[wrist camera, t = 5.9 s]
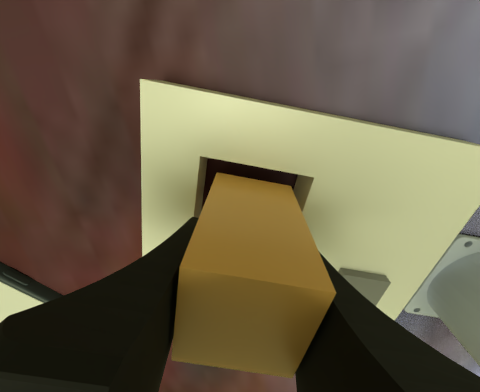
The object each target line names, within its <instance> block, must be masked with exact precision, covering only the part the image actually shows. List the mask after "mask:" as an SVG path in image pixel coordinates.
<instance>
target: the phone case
mask: <svg viewBox="0 0 480 392" xmlns="http://www.w3.org/2000/svg"><path fill="white" fill-rule="evenodd" d="M62 296H63V295H61V294H59V293H57V292H55V291H54V290H52V289H50V288H48V287H46V286H44V285H42V284H41V283H39V282H37V281H35V280H33V279H31V278H29V277H28V276H26V275H24V274H22V273H20V272H18V271H16V270H15V269H13V268H11V267H9V266H7V265H5V264H3V263H1V262H0V323H1V322H2V321H3V320H4V319H5V318H6V317H8V316H9V315H12V314H15V313H18V312H21V311H23V310H26V309H29V308H32V307H35V306H37V305H40V304H43V303H46V302H48V301H51V300H54V299H57V298H59V297H62Z"/></svg>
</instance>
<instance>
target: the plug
mask: <svg viewBox="0 0 480 392" xmlns="http://www.w3.org/2000/svg"><path fill="white" fill-rule="evenodd" d="M335 295H336V291H335V289H334V286H333V284H332V282H331V279H330V277H329V274H328V272H327V270H326V267H325V265H324V263H323V260H322V258H321V256H320V253H319V251H318V249H317V246H316V244H315V242H314V239H313V237H312V234H311V232H310V230H309V227H308V225H307V223H306V220H305V218H304V216H303V213H302V211H301V209H300V206H299V204H298V202H297V199H296V197H295V195H294V192H293V190H292V187H291V186H288V185H283V184H278V183H272V182H267V181H261V180H256V179H251V178H245V177H240V176H235V175H229V174H224V173H218V172H217V173H216V176H215V178H214V181H213V183H212V186H211V188H210V191H209V194H208V196H207V199H206V201H205V204H204V206H203V209H202V211H201V214H200V216H199V219H198V221H197V224H196V226H195V229H194V232H193V234H192V237H191V239H190V242H189V244H188V247H187V249H186V252H185V254H184V257H183V259H182V262H181V265H180V268H179V279H178V291H177V302H176V314H175V325H174V337H173V349H172V360H173V361H180V362H187V363H193V364H200V365H207V366H214V367H220V368H227V369H234V370H241V371H247V372H254V373H261V374H268V375H274V376H281V377H288V378H293V376H294V374H295V372H296V370H297V368H298V366H299V364H300V362H301V361H302V359H303V357H304V355H305V353H306V351H307V349H308V347H309V345H310V343H311V341H312V339H313V337H314V335H315V333H316V331H317V330H318V328H319V326H320V324H321V322H322V320H323V318H324V316H325V314H326V312H327V310H328V308H329V306H330V304H331V302H332V301H333V299H334V297H335Z"/></svg>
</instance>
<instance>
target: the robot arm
mask: <svg viewBox="0 0 480 392" xmlns="http://www.w3.org/2000/svg"><path fill="white" fill-rule="evenodd" d="M198 219H199V218H197V217H191V218H190V219H189V220H188V221H187V222H186V223H185V224H184V225H183V226H181V227H180V228H179V229H178V230H177V231H176V232H175V233H173V234H172V235H171V236H170V237H169V238H167V239H166V240H165V241H164V242H162V243H161V244H160V245H158V246H157V247H155V248H154V249H153V250H151V251H150V252H149V253H147V254H146V255H144V256H143V257H141V258H139V259H138V260H136V261H135V262H133V263H131V264H130V265H128V266H126V267H124V268H123V269H121V270H119V271H117V272H115V273H113V274H111V275H109V276H107V277H105V278H103V279H101V280H99V281H97V282H95V283H92V284H90V285H88V286H86V287H84V288H81V289H79V290H76V291H74V292H72V293H69V294H67V295H64V296H62V297H59V298H57V299H54V300H51V301H48V302H46V303H43V304H40V305H37V306H35V307H32V308H29V309H26V310H23V311H21V312H18V313H15V314H12V315H9V316H8V317H6V318H5V319H4V320H3V321H2V322H1V323H0V392H158V391H159V387H160V383H161V379H162V376H163V372H164V369H165V365H166V361H167V358H168V354H169V350H170V347H171V343H172V340H173V336H174V325H175V314H176V302H177V291H178V279H179V268H180V265H181V262H182V259H183V257H184V254H185V252H186V249H187V247H188V244H189V242H190V239H191V237H192V234H193V232H194V229H195V226H196V224H197V221H198ZM319 253H320V252H319ZM320 256H321V258H322V260H323V263H324V265H325V267H326V270H327V272H328V274H329V277H330V279H331V282H332V284H333V286H334V289H335V291H336V295H335V297H334V299H333V301H332V302H331V304H330V306H329V308H328V310H327V312H326V314H325V316H324V318H323V320H322V322H321V324H320V326H319V328H318V330H317V331H316V333H315V335H314V337H313V339H312V341H311V343H310V345H309V347H308V349H307V351H306V353H305V355H304V357H303V359H302V361H301V362H300V364H299V366H298V368H297V370H296V372H295V373H296V385H297V392H480V377H479V376H477V375H476V374H474V373H472V372H471V371H469V370H467V369H466V368H464V367H462V366H461V365H459V364H457V363H456V362H454V361H452V360H451V359H449V358H448V357H446V356H444V355H443V354H441V353H440V352H438V351H437V350H435V349H434V348H432V347H431V346H429V345H428V344H426V343H425V342H423V341H422V340H420V339H419V338H418V337H416V336H415V335H413V334H412V333H410V332H409V331H408V330H406V329H405V328H403V327H402V326H401V325H399V324H398V323H397V322H395V321H394V320H393V319H391V318H390V317H389V316H387V315H386V314H385V313H384V312H382V311H381V310H380V309H379V308H377V307H376V306H375V305H374V304H373V303H371V302H370V301H369V300H368V299H367V298H365V297H364V296H363V295H362V294H361V293H360V292H359V291H357V290H356V289H355V288H354V287H353V286H352V285H351V284H350V283H349V282H348V281H347V280H346V279H345V278H344V277H343V276H342V275H341V274H340V273H339V272H338V271H337V270H336V269H335V268H334V267H333V266H332V265H331V264H330V263H329V262H328V261H327V260H326V258H325V257H324V256H323V255H322V254H321V253H320ZM403 309H404V310H405V311H406V312H408V313H413V314H419V315H426V316H432V317H438V318H440V319H441V320H442V321H443V322H444V324H445V325H446V326H447V327H448V329H449V330H450V331H451V332H452V333H453V335H454V336H455V337H456V338H457V339H458V341H459V342H460V343H461V344H462V346H463V347H464V348H465V349H466V350H467V352H468V353H469V354H470V355H471V356H472V358H473V359H474V360H475V361H476V363H477V364H478V365H479V366H480V238H479V237H473V236H468V235H462V234H458V235H457V236H456V238H455V239H454V241H453V242H452V243H451V245H450V246H449V247H448V249H447V250H446V251H445V253H444V254H443V255H442V257H441V258H440V259H439V261H438V262H437V264H436V265H435V266H434V268H433V269H432V270H431V272H430V273H429V274H428V276H427V277H426V278H425V280H424V281H423V283H422V284H421V285H420V287H419V288H418V289H417V291H416V292H415V293H414V295H413V296H412V297H411V299H410V300H409V302H408V303H407V304H406V306H405V307H404V308H403Z"/></svg>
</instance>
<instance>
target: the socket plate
mask: <svg viewBox="0 0 480 392" xmlns="http://www.w3.org/2000/svg"><path fill="white" fill-rule="evenodd" d="M140 110H141V188H142V257H143V256H144V255H146V254H147V253H149V252H150V251H151V250H153V249H154V248H155V247H157V246H158V245H160V244H161V243H162V242H164V241H165V240H166V239H167V238H169V237H170V236H171V235H172V234H173V233H175V232H176V231H177V230H178V229H179V228H180V227H181V226H183V225H184V224H185V223H186V222H187V221H188V220H189V219H190V218H191V217H197V218H199V216H200V214H201V210H202V202H203V193H204V185H205V177H206V169H207V160H208V158H213V159H218V160H224V161H229V162H234V163H240V164H245V165H250V166H256V167H261V168H266V169H272V170H277V171H282V172H288V173H293V174H298V176H297V180H296V183H295V186H294V189H293V192H294V195H295V197H296V199H297V202H298V204H299V206H300V209H301V211H302V213H303V216H304V218H305V220H306V223H307V225H308V227H309V230H310V232H311V234H312V237H313V239H314V242H315V244H316V246H317V249H318V251H319V252H320V253H321V254H322V255H323V256H324V257H325V258H326V260H327V261H328V262H329V263H330V264H331V265H332V266H333V267H334V268H335V269H336V270H337V271H338V272H339V273H340V274H341V275H342V276H343V277H344V278H345V279H346V280H347V281H348V282H349V283H350V284H351V285H352V286H353V287H354V288H355V289H356V290H357V291H359V292H360V293H361V294H362V295H363V296H364V297H365V298H367V299H368V300H369V301H370V302H371V303H373V304H374V305H375V306H376V307H377V308H379V309H380V310H381V311H382V312H384V313H385V314H386V315H387V316H389V317H390V318H391V319H393V320H394V321H395V319H396V318H397V316H398V315H399V314H400V312H401V311H402V310H403V308H404V307H405V306H406V304H407V303H408V302H409V300H410V299H411V297H412V296H413V295H414V293H415V292H416V291H417V289H418V288H419V287H420V285H421V284H422V283H423V281H424V280H425V278H426V277H427V276H428V274H429V273H430V272H431V270H432V269H433V268H434V266H435V265H436V264H437V262H438V261H439V259H440V258H441V257H442V255H443V254H444V253H445V251H446V250H447V249H448V247H449V246H450V245H451V243H452V242H453V241H454V239H455V238H456V236H457V235H458V234H459V232H460V231H461V230H462V228H463V227H464V226H465V224H466V223H467V222H468V220H469V219H470V217H471V216H472V215H473V213H474V212H475V211H476V209H477V208H478V207H479V205H480V145H479V144H475V143H471V142H467V141H463V140H458V139H453V138H448V137H443V136H438V135H433V134H428V133H423V132H418V131H413V130H408V129H403V128H398V127H393V126H388V125H383V124H378V123H373V122H368V121H363V120H358V119H353V118H348V117H343V116H338V115H333V114H328V113H323V112H318V111H313V110H308V109H303V108H298V107H293V106H288V105H283V104H278V103H273V102H268V101H263V100H258V99H253V98H247V97H242V96H237V95H232V94H227V93H222V92H217V91H212V90H207V89H202V88H197V87H192V86H187V85H182V84H177V83H172V82H167V81H160V80H147V79H140Z"/></svg>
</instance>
